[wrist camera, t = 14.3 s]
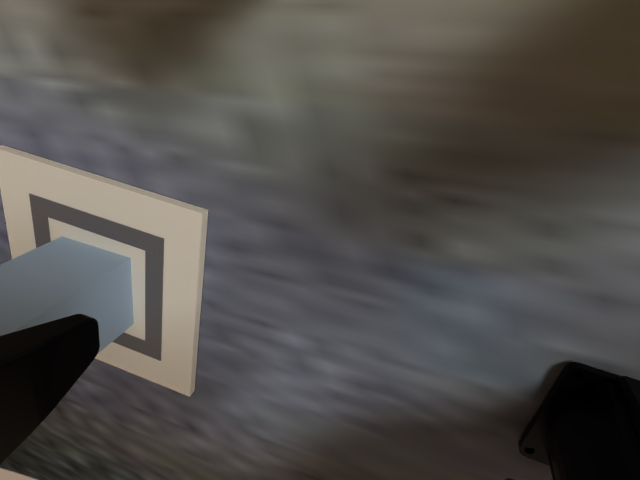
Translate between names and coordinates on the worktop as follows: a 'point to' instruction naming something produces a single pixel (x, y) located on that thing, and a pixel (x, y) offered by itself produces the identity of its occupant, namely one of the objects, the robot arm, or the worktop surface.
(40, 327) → the robot arm
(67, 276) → the blue block
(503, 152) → the worktop surface
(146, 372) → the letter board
